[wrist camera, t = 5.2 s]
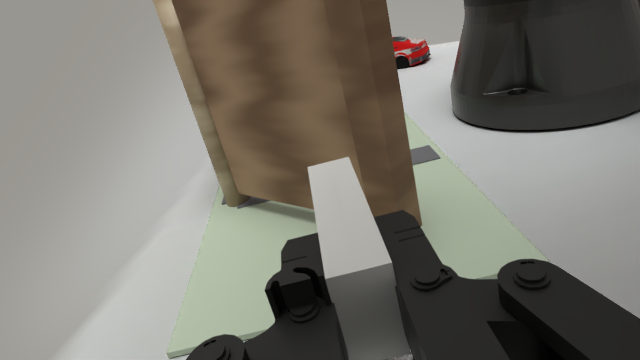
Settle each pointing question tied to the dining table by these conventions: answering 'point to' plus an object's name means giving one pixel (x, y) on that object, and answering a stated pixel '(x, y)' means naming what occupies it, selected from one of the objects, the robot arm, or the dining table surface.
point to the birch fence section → (198, 101)
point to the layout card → (294, 221)
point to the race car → (409, 51)
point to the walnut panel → (303, 95)
